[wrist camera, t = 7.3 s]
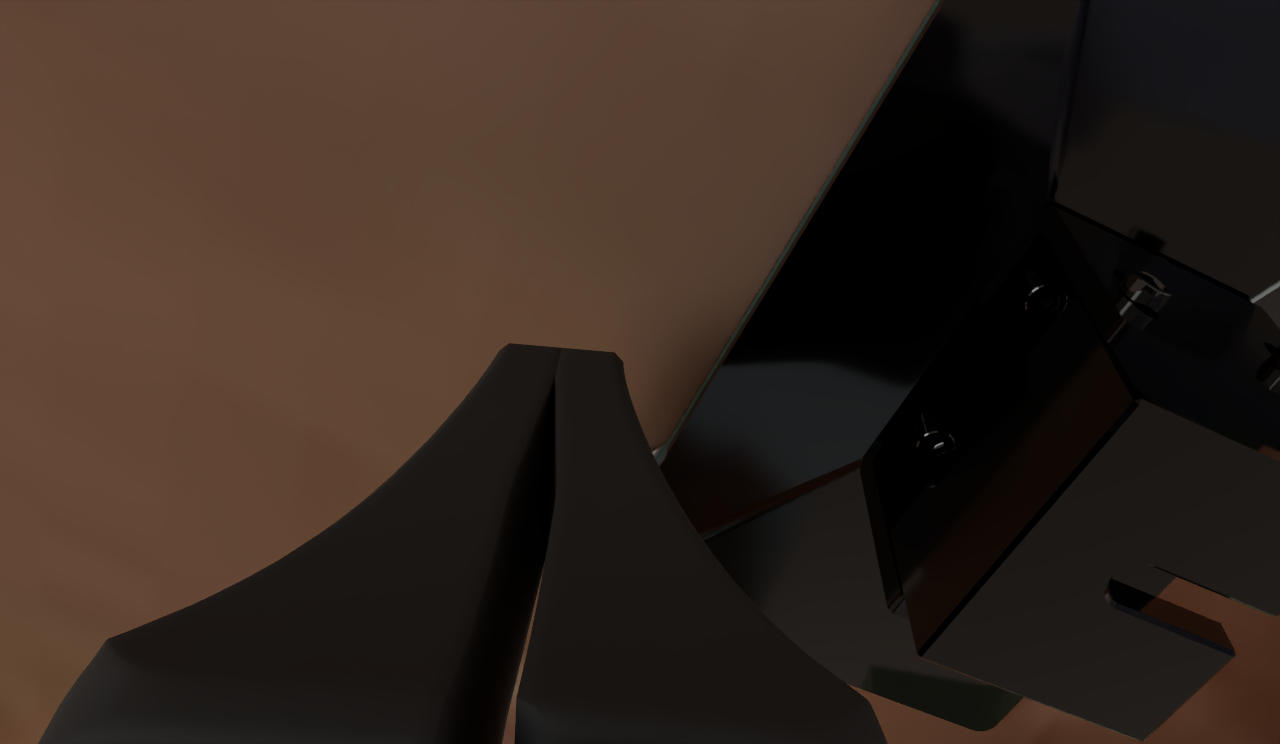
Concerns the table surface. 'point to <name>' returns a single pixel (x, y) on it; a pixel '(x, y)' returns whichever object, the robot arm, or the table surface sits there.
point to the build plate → (1018, 369)
